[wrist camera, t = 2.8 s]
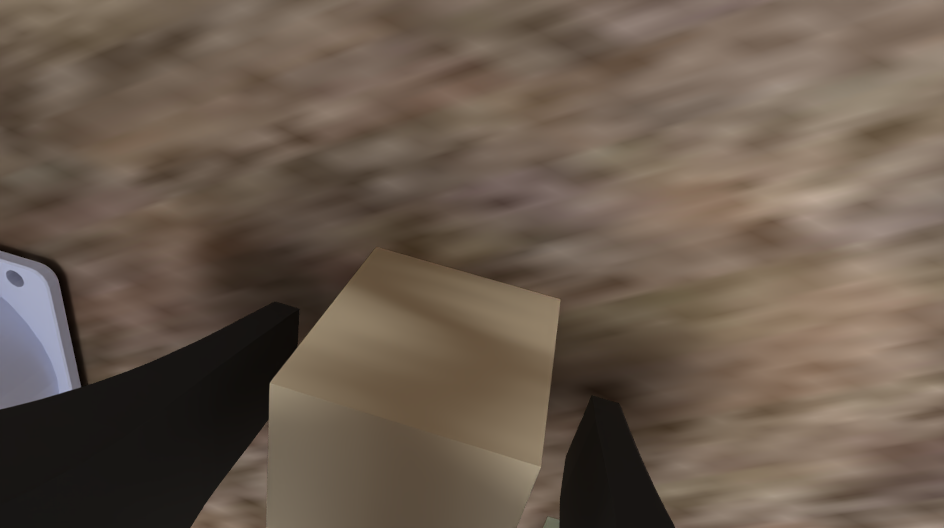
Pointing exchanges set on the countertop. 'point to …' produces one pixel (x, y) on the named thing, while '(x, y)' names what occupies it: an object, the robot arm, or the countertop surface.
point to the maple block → (413, 403)
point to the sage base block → (551, 523)
